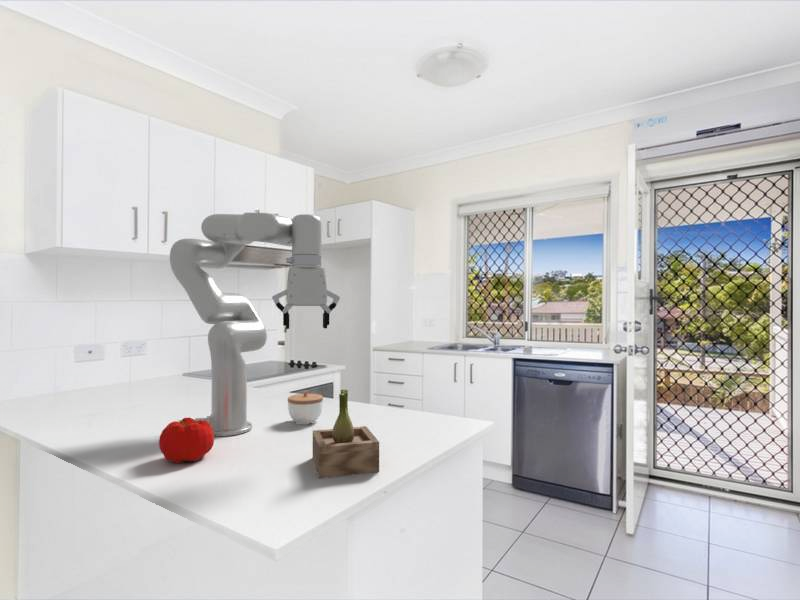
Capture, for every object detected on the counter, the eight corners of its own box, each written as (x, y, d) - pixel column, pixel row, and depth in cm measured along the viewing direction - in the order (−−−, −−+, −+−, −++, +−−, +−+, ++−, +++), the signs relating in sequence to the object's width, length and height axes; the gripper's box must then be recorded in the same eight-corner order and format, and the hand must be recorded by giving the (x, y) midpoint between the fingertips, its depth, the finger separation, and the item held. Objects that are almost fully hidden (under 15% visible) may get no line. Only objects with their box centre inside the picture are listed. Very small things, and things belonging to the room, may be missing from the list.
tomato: (211, 463, 102) (211, 424, 103) (153, 469, 99) (153, 428, 99) (216, 449, 113) (216, 413, 113) (163, 453, 109) (164, 416, 109)
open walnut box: (319, 478, 94) (319, 447, 94) (312, 457, 106) (312, 430, 106) (379, 471, 98) (379, 441, 98) (365, 452, 110) (365, 426, 110)
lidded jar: (326, 424, 136) (326, 393, 136) (290, 428, 132) (290, 396, 132) (319, 416, 146) (319, 387, 146) (285, 419, 142) (285, 389, 142)
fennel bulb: (344, 447, 98) (344, 393, 98) (326, 444, 101) (326, 391, 101) (358, 440, 104) (358, 388, 104) (341, 437, 106) (341, 387, 106)
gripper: (272, 260, 110) (272, 329, 110) (342, 262, 116) (341, 328, 115) (271, 263, 118) (271, 328, 117) (337, 265, 123) (337, 327, 123)
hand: (306, 328), depth 116 cm, fingers open, 9 cm apart
